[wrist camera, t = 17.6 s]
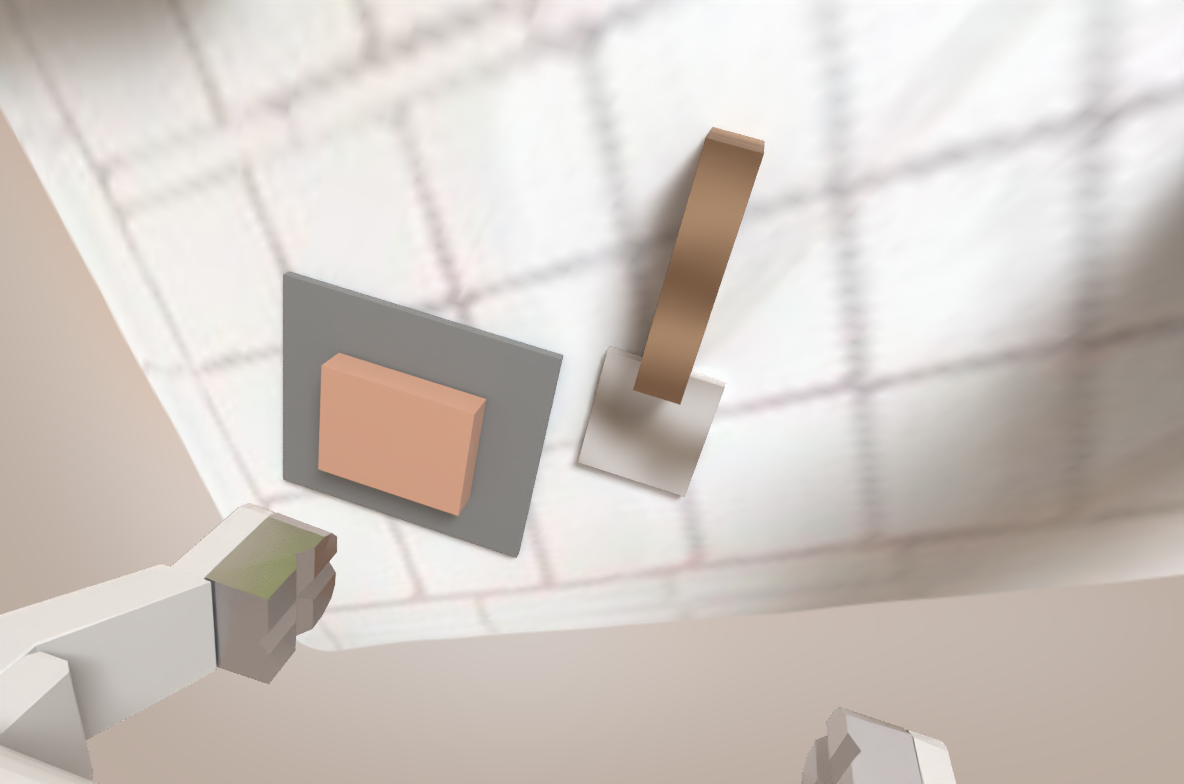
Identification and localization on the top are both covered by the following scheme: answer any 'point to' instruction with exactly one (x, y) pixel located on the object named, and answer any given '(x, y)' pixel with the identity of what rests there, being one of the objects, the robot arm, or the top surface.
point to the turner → (675, 336)
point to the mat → (431, 352)
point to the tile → (398, 432)
